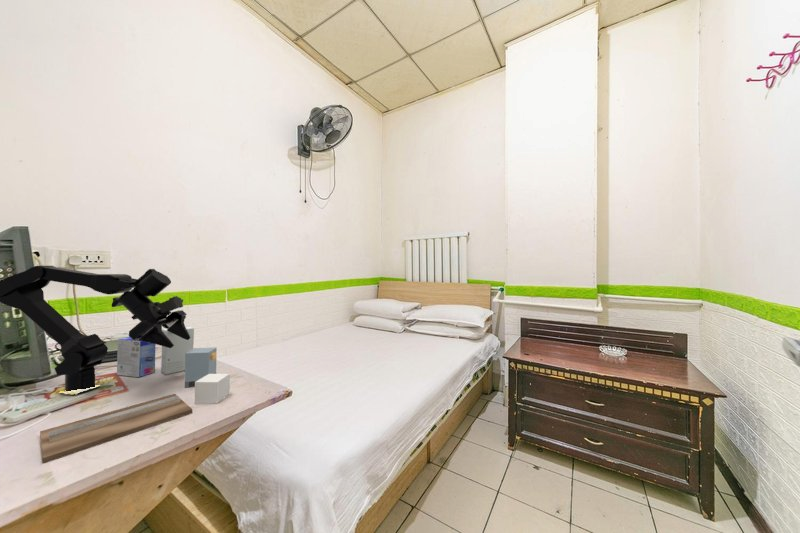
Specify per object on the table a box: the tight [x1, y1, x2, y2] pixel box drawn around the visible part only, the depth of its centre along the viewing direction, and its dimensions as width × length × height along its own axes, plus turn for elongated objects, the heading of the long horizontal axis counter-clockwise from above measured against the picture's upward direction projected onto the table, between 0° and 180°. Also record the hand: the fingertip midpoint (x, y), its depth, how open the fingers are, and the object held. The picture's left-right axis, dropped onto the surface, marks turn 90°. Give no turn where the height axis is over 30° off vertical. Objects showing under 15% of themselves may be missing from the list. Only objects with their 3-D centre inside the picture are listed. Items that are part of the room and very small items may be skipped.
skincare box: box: [160, 325, 195, 376], centre depth 103 cm, size 8×6×15 cm
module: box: [184, 346, 218, 389], centre depth 92 cm, size 7×6×10 cm
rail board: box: [39, 393, 193, 464], centre depth 69 cm, size 14×24×2 cm, turn 142°
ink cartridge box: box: [116, 336, 157, 378], centre depth 99 cm, size 10×6×14 cm, turn 78°
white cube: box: [194, 373, 231, 405], centre depth 82 cm, size 6×6×6 cm
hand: (181, 342), depth 91 cm, fingers open, 9 cm apart
